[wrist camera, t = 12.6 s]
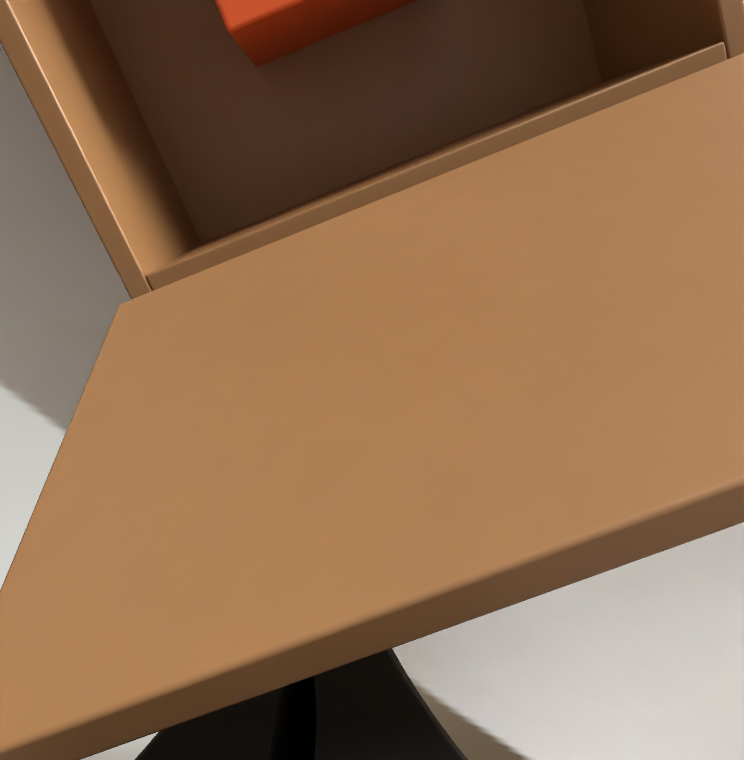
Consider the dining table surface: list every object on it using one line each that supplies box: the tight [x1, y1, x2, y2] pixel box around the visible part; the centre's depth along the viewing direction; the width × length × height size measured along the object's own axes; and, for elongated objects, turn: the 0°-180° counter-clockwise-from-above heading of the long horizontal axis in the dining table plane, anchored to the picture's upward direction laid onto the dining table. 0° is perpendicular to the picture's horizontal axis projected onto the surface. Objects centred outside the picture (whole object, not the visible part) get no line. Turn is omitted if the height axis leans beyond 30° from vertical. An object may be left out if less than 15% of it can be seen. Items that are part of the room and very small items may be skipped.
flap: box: [0, 53, 744, 760], centre depth 7 cm, size 7×11×1 cm
